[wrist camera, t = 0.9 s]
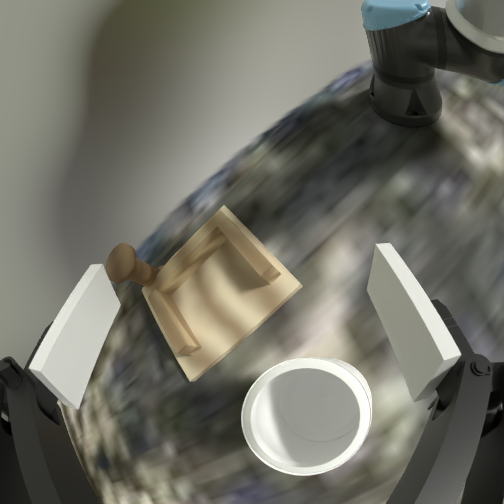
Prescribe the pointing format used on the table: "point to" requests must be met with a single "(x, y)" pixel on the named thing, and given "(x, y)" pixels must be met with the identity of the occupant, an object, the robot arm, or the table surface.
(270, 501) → the table surface
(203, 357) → the tan wooden platform
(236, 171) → the table surface
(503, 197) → the table surface
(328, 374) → the jar
